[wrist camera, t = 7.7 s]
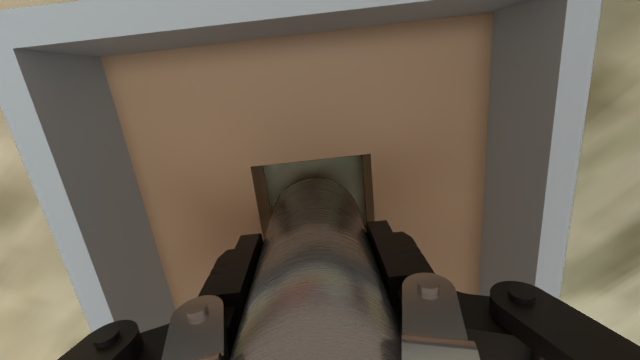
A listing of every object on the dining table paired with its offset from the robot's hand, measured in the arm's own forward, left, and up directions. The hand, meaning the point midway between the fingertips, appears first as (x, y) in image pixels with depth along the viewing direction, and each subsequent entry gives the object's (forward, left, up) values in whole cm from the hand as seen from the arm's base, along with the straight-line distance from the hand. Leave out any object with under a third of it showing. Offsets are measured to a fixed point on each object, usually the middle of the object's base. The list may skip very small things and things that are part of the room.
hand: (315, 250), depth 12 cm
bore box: (0, 0, -6) cm, 6 cm away
